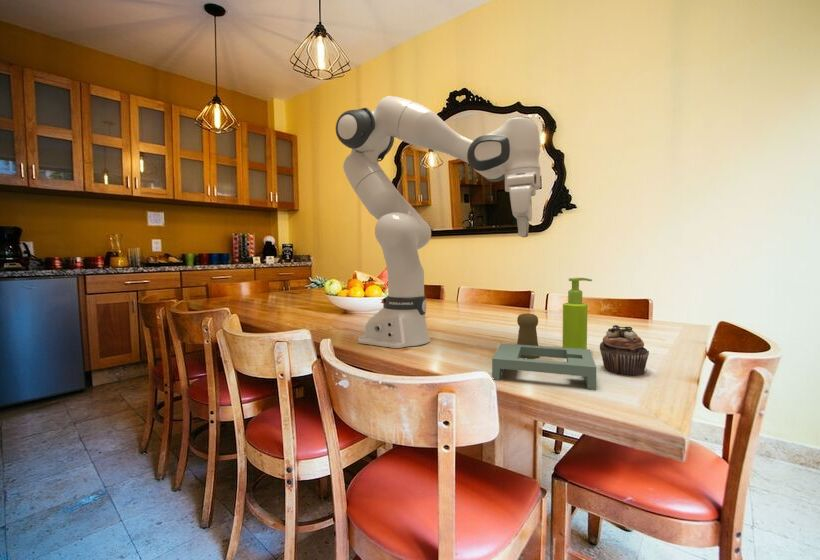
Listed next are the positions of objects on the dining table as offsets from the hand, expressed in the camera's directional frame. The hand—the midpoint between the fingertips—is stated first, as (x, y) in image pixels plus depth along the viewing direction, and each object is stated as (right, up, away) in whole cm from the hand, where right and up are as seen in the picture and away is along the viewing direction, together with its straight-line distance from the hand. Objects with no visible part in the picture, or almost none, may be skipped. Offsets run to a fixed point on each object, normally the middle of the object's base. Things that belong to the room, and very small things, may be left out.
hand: (523, 236), depth 97 cm
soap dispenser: (+14, -31, +2) cm, 34 cm away
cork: (+1, -31, 0) cm, 31 cm away
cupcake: (+19, -32, -13) cm, 39 cm away
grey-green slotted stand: (0, -32, -14) cm, 35 cm away
